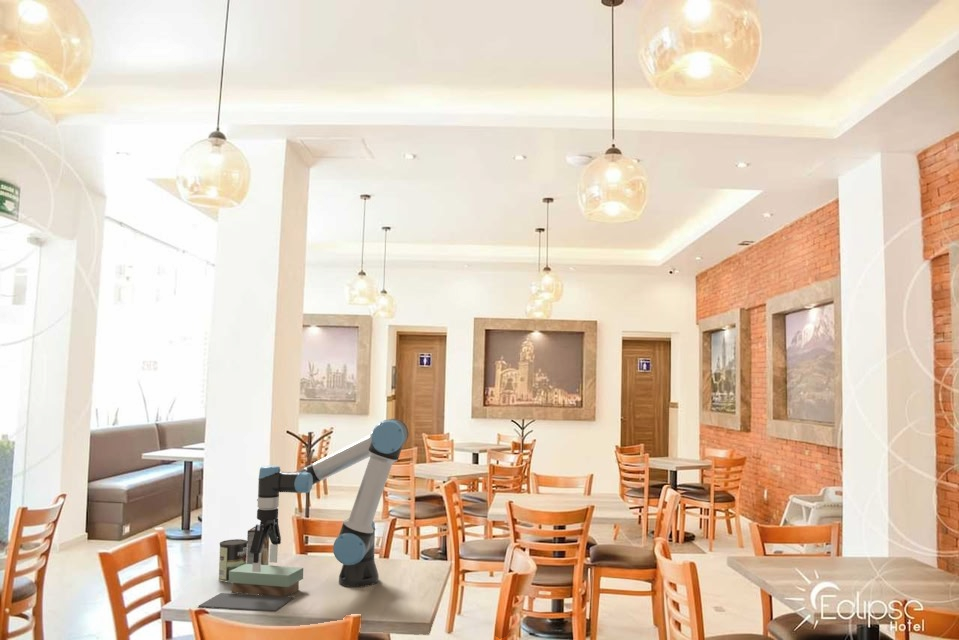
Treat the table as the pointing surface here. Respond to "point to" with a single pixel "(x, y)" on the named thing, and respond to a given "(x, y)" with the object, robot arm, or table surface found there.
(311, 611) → the table surface
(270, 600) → the mat
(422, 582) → the table surface
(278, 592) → the box
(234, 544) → the coffee can
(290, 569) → the lid
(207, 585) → the table surface
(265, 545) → the coffee box
